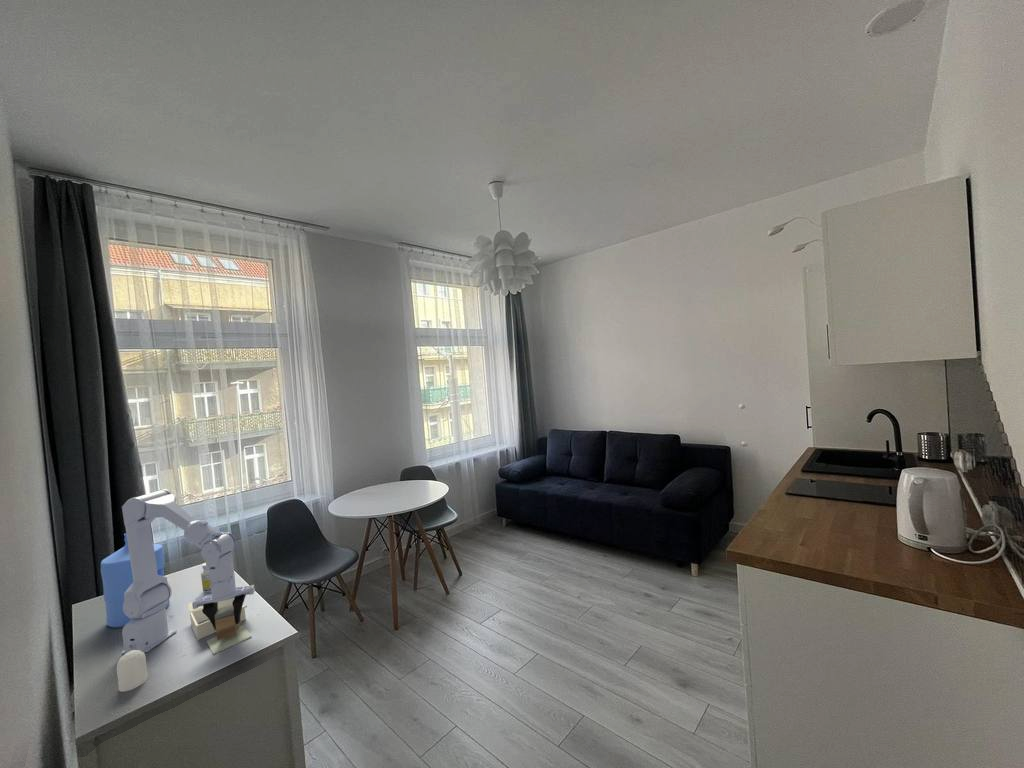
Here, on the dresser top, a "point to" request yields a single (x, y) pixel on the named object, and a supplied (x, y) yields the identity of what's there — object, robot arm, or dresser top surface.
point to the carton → (207, 626)
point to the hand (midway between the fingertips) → (227, 625)
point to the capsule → (131, 670)
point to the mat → (228, 640)
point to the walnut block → (226, 622)
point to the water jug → (122, 582)
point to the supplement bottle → (205, 579)
